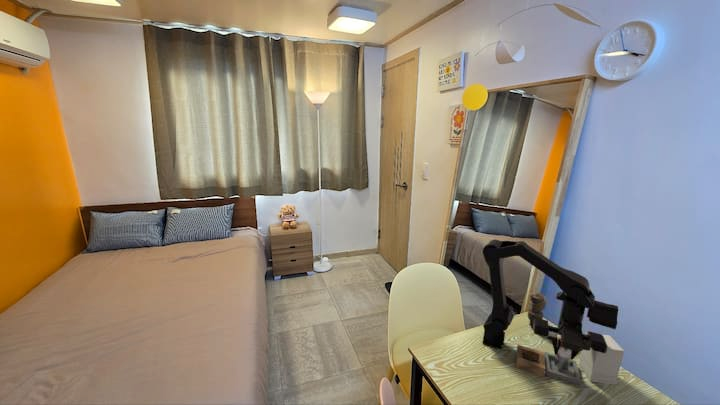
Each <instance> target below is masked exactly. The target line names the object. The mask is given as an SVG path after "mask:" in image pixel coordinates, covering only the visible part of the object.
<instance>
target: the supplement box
mask: <svg viewBox="0 0 720 405" xmlns="http://www.w3.org/2000/svg"><path fill="white" fill-rule="evenodd" d="M584 333H585V334H587V332H584ZM602 335H603V337H604V338H605V341H606V343H607V351H606V353H602V352H598V351H594V350H593V349H592V348H590V350H589V351H588V350H582V351H581V352H580V356H579V360H578V366H579V367H580V369H581V370H582V372H583V373H584V374H585V376H586V377H587V379H588V380H589V381H590V382H593V383H601V384H605V385H606V384H607V385H617V380H618V376H619V373H620V368H621V365H622V360H623V357H624V352H625V350H624V349H623V348H622V347H621V346H620V345H619V343H617V342H616V341H615V340H614V338H612V336H611V335H607V334H602Z"/></svg>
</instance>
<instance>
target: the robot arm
mask: <svg viewBox="0 0 720 405" xmlns="http://www.w3.org/2000/svg"><path fill="white" fill-rule="evenodd" d="M482 255H483V259H484V262H485V264H486V265H487V266H488V271H489V278H490V288H491V289H490V290H491V297H492V308H491V312H490V314H489V315H488V317H487V318H486V320H485V322H484V323H483V325H482V327H483V330H484V331H483V338H482V344H483V345H486V346H489V347H492V348H495V349H498V350H502V349H503V346H505V344H504V343H505V337H506V336H505V335H506V332H505V331H506V330H508V328H509V326H510V325H511V323H512V321H513V319H514V317H515V315H514V313H513V310H514V308H513V307H514V306H512V305H511V306H510V305H509V304H508V303H507V299H506V298H507V297H506V288H505V280H504V278H505V277H504V268H503V265H504V260H505V259H507V258H511V257H520V258H521V259H523V260H524V261H526V262H527V263H528V264H530V265H531V266H532V267H534V268H535V269H537V270H539V271H540V272H541V273H543V274H545V275H546V276H547V277H549V278H550V279H551V280H552V281H553V282H555V284H556V285H557V286H558V287H559V289H560V290H561V291H559V292H557V293H556V296H555V299H556V300H558V301H562V302H561V309H560V312H559V313H560V314H559V319H558V325H557V326H552V325H549V320H546V319H544V318H543V319H539V318H535V319H534V322H533V328H532V329H533V333H534V334H535V335H536V336H541V337H545V338H546V339H547V340H549V341H550V342H551V344H552V347H553V348H552V349H553V352H554V353H553V354H554V355H556V354H557V346H558V341H559V339H558V336H560V338H561V345H562V347H563V348H566V349H571V350H573V351H572V356H571V360H574V359H575V358H576V357H577V356H578V355H579V354H580V353H581V351H582V350H588V351H589V350H590V348H592V349H593V350H594V351H598V352H602V353H606V351H607V343H606V341H605V338H604V337H603V335H604V334H601V333H597V332H593V331H589V330H588V331H587V332H583V321H584V320H583V319H584V316H585V312H586V318H588V321H589V322H591V323H592V324H596V325H599V326H601V327H605V328H608V329H612V330H615V331H616V329H617V327H618V326H617V325H618V314H619V306H618V305H615V304H610V303H605V302H602V301H599V300H595V299H596V297H595V295H594V293H593V291H592V290H591V288H590V281H589V280H588V279H587V278H586V277H585V276H583V275H581V274H579V273H577V272H575V271H572V270H569V269H567V268H564V267H562V266H560V265H558V264H557V263H556V262H554V261H552V260H551V259H550V258H548V257H547V256H545V255H544V254H542V253H540V252H539V251H538V250H536V249H535V248H533V247H532V246H530V245H529V244H528V243H526V241H523V240H519V241H517V240H516V241H513V240H500V239H491V240H490V241H489V242H488V243H486V245H485V246H484V247H483V248H482ZM586 309H587V311H586ZM585 333H587V334H585Z"/></svg>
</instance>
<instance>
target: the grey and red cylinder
mask: <svg viewBox="0 0 720 405" xmlns="http://www.w3.org/2000/svg"><path fill="white" fill-rule="evenodd" d="M572 351H573V350H571V349H566V348H563V347H562V345H561V337H559V339H558V342H557V354H556V356H555V361H554V364H555V365H556V366H557V367H558V368H560V369H562V370H568V369H569V365H570V361H571V360H572V359H571V356H572Z"/></svg>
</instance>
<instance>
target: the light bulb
mask: <svg viewBox="0 0 720 405" xmlns="http://www.w3.org/2000/svg"><path fill="white" fill-rule="evenodd" d="M529 297H530V298H529V301H530V302H529V305H531V306H530V308H529V309H528V311H527V318H528V320H529V326H530V327H531V328H532V329H534V328H533V322H534V319H535V318H539V319H543V320H544V312H543V311H544V310H545V308H546V305H547V302H548V298H547V297H546V295H544V294H542V293H541V292H536V294H530V296H529Z"/></svg>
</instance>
